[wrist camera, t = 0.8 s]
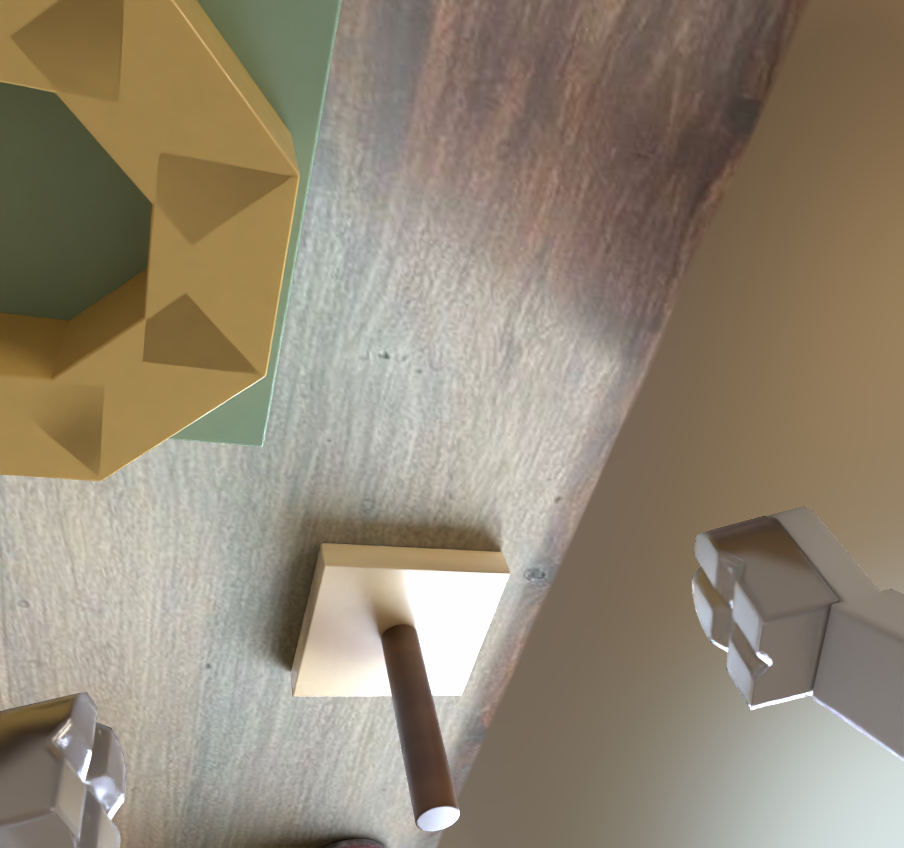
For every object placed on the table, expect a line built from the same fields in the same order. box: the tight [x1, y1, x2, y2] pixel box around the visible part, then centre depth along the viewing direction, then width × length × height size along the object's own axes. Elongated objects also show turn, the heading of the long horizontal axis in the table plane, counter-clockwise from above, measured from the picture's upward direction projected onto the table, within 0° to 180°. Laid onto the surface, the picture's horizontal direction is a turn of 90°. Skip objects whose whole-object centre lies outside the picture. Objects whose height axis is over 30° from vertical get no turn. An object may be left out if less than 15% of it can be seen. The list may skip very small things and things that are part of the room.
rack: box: [291, 543, 510, 831], centre depth 38 cm, size 9×9×11 cm
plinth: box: [0, 0, 342, 446], centre depth 23 cm, size 13×13×9 cm
